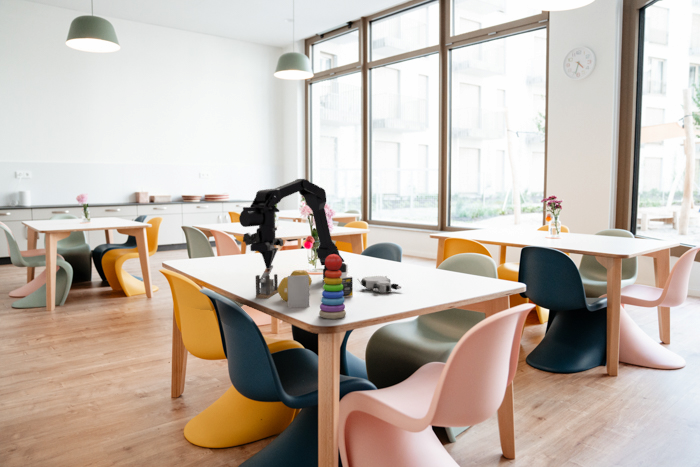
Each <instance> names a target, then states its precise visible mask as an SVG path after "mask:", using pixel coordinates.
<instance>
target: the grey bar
mask: <svg viewBox="0 0 700 467" xmlns="http://www.w3.org/2000/svg"><path fill="white" fill-rule="evenodd" d="M273 268H274V265H272V264H271V266H270V268H266V267H265V269H264V271H263V273H262V275H261V277H260V279H259V282H260V284H261V283H266V276H267V275H271V272H272V270H273Z"/></svg>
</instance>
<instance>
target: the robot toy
mask: <svg viewBox="0 0 700 467" xmlns="http://www.w3.org/2000/svg"><path fill="white" fill-rule="evenodd" d="M357 280H358V282H359V283H360V285H361V286H363V288H365V289H366V290H368V291H369V290H371V291H373V292H374V293H375V292H379V293H380V294H387V293H390V292H391V291H392V290H395V291H396V290H400V289H402V286H401V285H399V284H397V283H391V279H390V278H389V277H388V276H387V275H386V276H383V275H382V276H381V275H380V276H379V275H374V276H373V275H372V276H370V275H369V276H364V277H363V278H362V279H361V281H360V279H359V278H357Z"/></svg>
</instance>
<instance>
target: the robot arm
mask: <svg viewBox="0 0 700 467" xmlns="http://www.w3.org/2000/svg"><path fill="white" fill-rule="evenodd" d="M295 193H296V194H297V193H299V194H300V195H301V196H302V197H304V200H305V204H306V205H307V206H308V208H309V209H310V210H311V212H312V215H313V220H314V225H315V230H316V232H317V236H318V241H319V245H318V247H317V248H316V250H315V251H316V255H317V259H318V260H319V262H320V265H321V266H323V267H324V268H323V269H322V279H323V282H324V278H325V277H326V276H325V272H326V271H327V270H328V269H327V268H326V265H325V260H326V258H327V257H328V256H329V255H331V254H336V255H338V256H339V257H340V258H341V260H342V262H345V259H344V258H343V257H342V256H341V255H340V252H339V249H338V246H337V245H336V244H335V243H334V241H333V240H332V235H331V231H330V228H329V223H328V219H327V214H326V210H325V209H326V208H325V207H326V203H327V193H326V190H325V189H324V188H323V187H320V186H319V185H317V184H315V183H314V182H313V183H312V182H310V180H308V179H306V178H296V179H295V180H293V181H291V182H287V183H286V184H283V185H280V186H278V187H275V188H267V189H260V190H258V191H257V192H256V195H255V197H254V199H253V200H252V203H251V204H250V206H245V207H242V211H241V212H240V214H239V218H238V219H239V224H240V225H241V227H244V228H249V227H257V228H256V232H253V233H252V234H251V233H250V232H246V233H244V234H243V237H242V239H243V240H242V242H243V243H245V245H246V246H249V247H250V252H258V253H260V254H261V256H262V258H263V262H264V265H265V269H266V268H270V266H271V265H272V264H273V261H274V260H275V256H276V255H277V252H278V250H279V248H278V247H275V246H279V247H282V246H284V240H283V239H282V238H281V237H276V231H278V227H276V213H279V212H280V209H278V207H277V204H279V203H280V202H281V201H282V199H284V198H287V197H289V196H292V195H293V194H295Z"/></svg>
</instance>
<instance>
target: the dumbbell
mask: <svg viewBox="0 0 700 467" xmlns="http://www.w3.org/2000/svg"><path fill="white" fill-rule="evenodd" d="M301 275H309V288H310V287H311V285H312V281H313V280H312V277H311V276H310V274H309V272H308V271H307V270H304V269H303V270H301V269H295V270H293V271H292V272H291V273H290V275H289V276H301ZM277 291H278V294H279V296H280V298H281V300H283V301H284V302H288V276H286V277H285V276H284V277H283V278H282V279H281V281H280V282H279V284H278V288H277Z"/></svg>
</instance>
